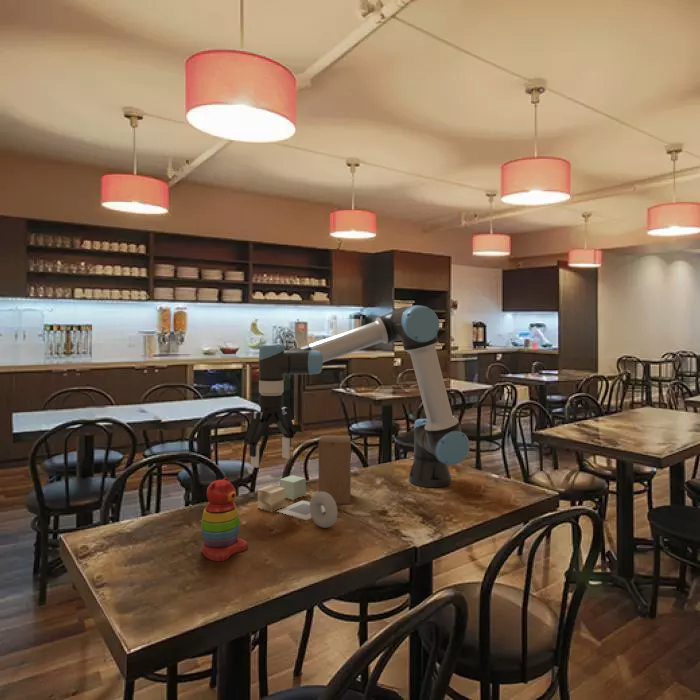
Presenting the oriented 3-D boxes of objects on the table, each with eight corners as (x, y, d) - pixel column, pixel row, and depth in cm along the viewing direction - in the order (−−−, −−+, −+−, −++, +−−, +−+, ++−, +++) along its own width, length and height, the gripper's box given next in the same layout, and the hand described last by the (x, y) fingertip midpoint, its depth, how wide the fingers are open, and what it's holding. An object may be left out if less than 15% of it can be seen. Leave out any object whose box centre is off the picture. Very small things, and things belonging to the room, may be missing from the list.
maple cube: (285, 507, 163) (285, 488, 163) (271, 512, 158) (271, 493, 158) (271, 503, 166) (271, 484, 166) (257, 508, 162) (257, 489, 161)
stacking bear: (220, 563, 124) (219, 489, 123) (190, 553, 129) (190, 482, 128) (251, 547, 133) (251, 478, 132) (223, 538, 138) (222, 472, 137)
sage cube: (305, 496, 174) (305, 478, 174) (293, 500, 169) (293, 482, 169) (292, 492, 177) (292, 475, 177) (279, 497, 172) (279, 479, 172)
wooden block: (349, 504, 165) (350, 441, 164) (318, 504, 166) (318, 441, 165) (350, 494, 175) (350, 435, 174) (320, 494, 176) (320, 435, 175)
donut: (340, 530, 144) (340, 494, 144) (331, 533, 142) (331, 497, 141) (315, 520, 151) (315, 486, 151) (306, 524, 149) (306, 489, 148)
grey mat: (332, 509, 161) (332, 507, 161) (306, 520, 151) (306, 519, 151) (302, 501, 168) (302, 500, 168) (276, 512, 158) (276, 510, 158)
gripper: (289, 389, 173) (289, 452, 174) (231, 397, 153) (231, 468, 154) (306, 391, 169) (306, 456, 170) (249, 399, 149) (249, 473, 149)
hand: (271, 462), depth 162 cm, fingers open, 13 cm apart
